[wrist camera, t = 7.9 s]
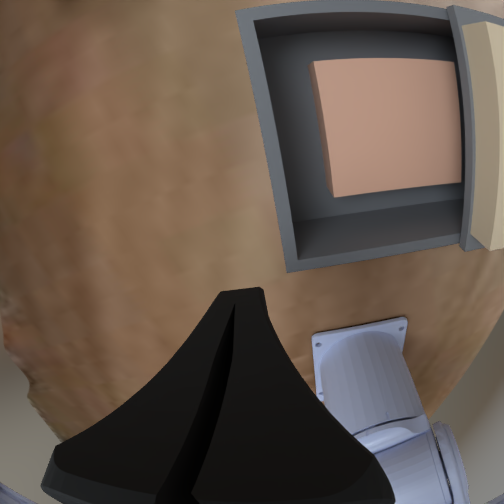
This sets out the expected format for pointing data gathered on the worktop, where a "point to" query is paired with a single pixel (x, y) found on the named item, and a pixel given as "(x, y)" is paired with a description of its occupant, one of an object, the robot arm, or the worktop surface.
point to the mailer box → (358, 126)
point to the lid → (481, 125)
